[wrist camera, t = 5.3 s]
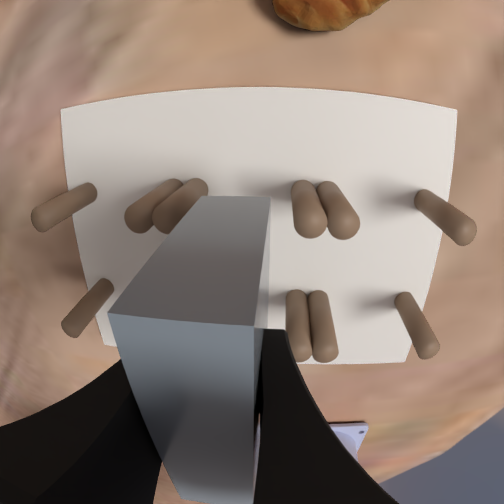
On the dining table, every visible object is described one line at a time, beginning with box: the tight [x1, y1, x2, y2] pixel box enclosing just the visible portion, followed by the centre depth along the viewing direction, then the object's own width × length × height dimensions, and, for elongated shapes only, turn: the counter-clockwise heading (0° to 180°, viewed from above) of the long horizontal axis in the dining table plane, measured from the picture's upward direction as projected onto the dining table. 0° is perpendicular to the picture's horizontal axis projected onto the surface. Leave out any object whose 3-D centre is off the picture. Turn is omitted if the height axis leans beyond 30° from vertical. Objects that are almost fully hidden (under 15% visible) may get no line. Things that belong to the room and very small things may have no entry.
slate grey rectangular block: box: [107, 196, 271, 504], centre depth 10 cm, size 8×2×7 cm, turn 0°
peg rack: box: [31, 87, 477, 364], centre depth 15 cm, size 16×21×6 cm
